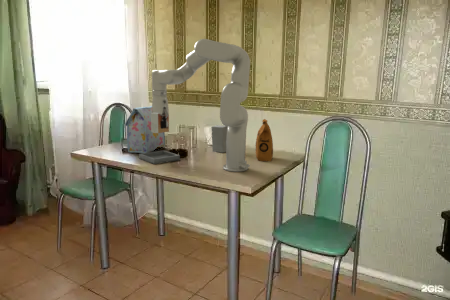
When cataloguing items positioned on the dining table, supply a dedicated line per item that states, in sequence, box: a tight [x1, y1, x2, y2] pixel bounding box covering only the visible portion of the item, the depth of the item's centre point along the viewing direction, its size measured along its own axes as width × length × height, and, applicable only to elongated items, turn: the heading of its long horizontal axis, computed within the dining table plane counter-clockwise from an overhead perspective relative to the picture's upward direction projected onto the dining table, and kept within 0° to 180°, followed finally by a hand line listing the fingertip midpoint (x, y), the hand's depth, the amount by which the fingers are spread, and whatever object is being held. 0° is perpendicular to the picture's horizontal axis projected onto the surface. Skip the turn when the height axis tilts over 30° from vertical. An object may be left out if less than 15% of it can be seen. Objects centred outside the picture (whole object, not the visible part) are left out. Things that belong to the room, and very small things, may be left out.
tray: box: [138, 150, 181, 165], centre depth 195 cm, size 16×16×3 cm
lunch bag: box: [124, 105, 166, 154], centre depth 216 cm, size 22×17×26 cm
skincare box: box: [210, 124, 228, 153], centre depth 216 cm, size 8×7×16 cm
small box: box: [151, 113, 170, 133], centre depth 192 cm, size 8×6×10 cm
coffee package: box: [255, 118, 274, 162], centre depth 198 cm, size 10×12×22 cm
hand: (160, 127), depth 192 cm, fingers closed on small box, 6 cm apart
